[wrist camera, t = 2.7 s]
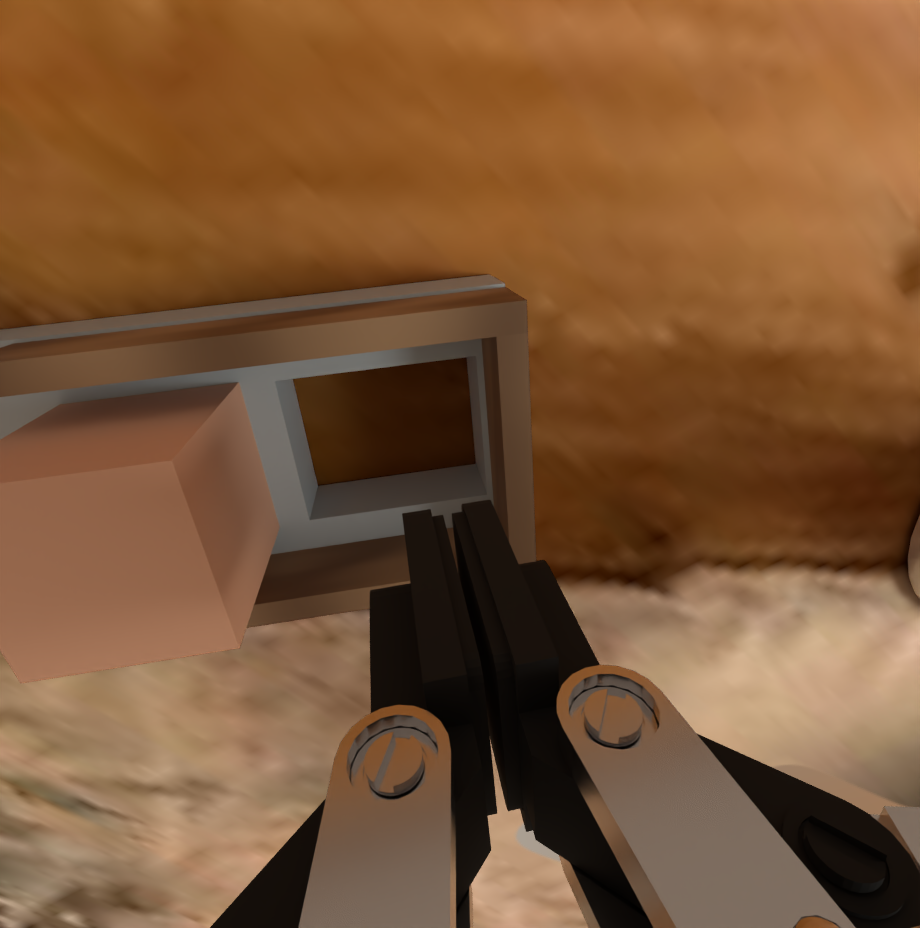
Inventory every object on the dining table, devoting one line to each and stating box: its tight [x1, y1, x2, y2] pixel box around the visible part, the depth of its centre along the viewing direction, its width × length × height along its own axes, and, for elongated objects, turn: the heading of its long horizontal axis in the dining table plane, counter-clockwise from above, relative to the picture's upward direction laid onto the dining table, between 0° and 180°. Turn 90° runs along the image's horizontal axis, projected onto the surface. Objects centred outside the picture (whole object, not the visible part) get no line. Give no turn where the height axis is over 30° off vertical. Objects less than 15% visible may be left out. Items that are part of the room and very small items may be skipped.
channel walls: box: [0, 287, 536, 628], centre depth 16 cm, size 14×9×3 cm, turn 95°
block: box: [0, 382, 280, 683], centre depth 14 cm, size 5×5×6 cm
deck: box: [0, 274, 505, 554], centre depth 18 cm, size 22×9×2 cm, turn 95°
